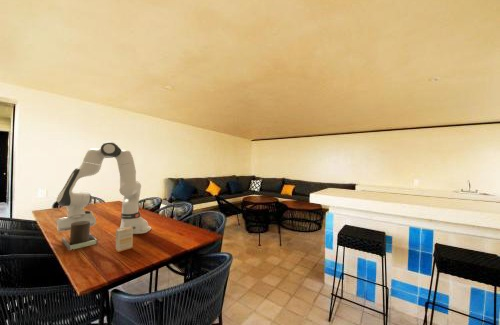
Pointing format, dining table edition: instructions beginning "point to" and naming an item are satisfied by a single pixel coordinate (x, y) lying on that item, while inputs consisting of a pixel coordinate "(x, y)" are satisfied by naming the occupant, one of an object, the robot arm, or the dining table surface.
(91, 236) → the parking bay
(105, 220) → the dining table surface
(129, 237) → the supplement box
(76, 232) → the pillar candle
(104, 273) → the dining table surface
